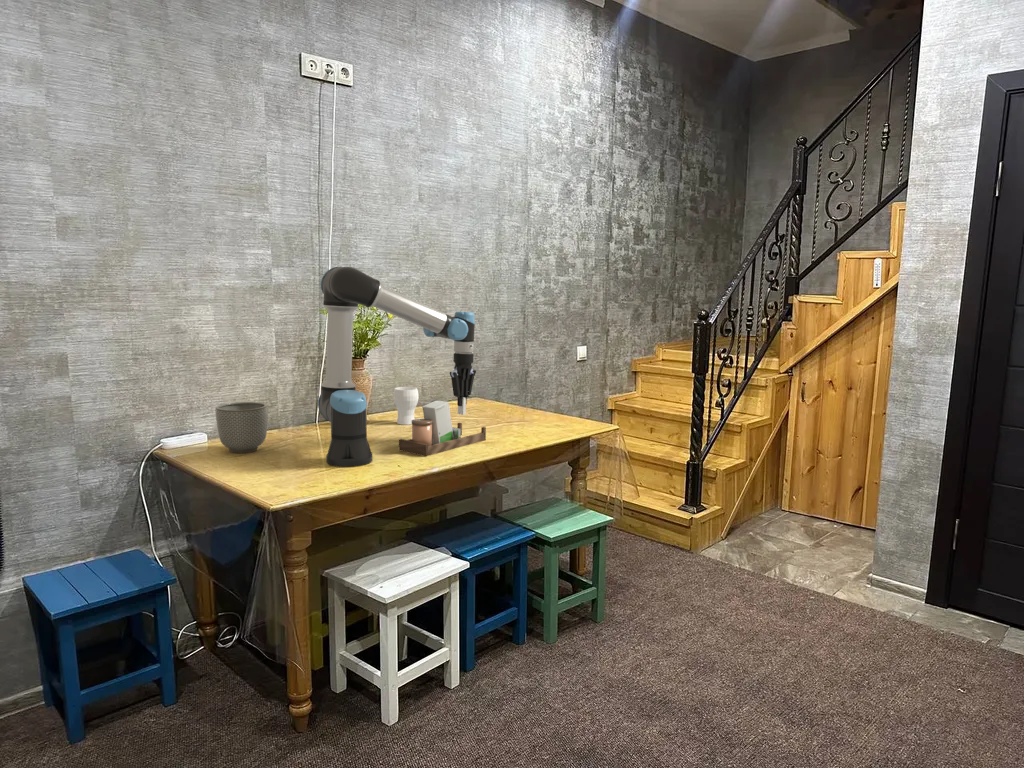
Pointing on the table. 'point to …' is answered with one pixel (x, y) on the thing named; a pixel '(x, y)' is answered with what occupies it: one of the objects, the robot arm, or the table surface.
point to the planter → (242, 425)
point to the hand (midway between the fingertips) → (461, 414)
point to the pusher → (456, 433)
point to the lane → (441, 447)
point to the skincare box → (439, 421)
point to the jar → (422, 431)
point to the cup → (405, 404)
